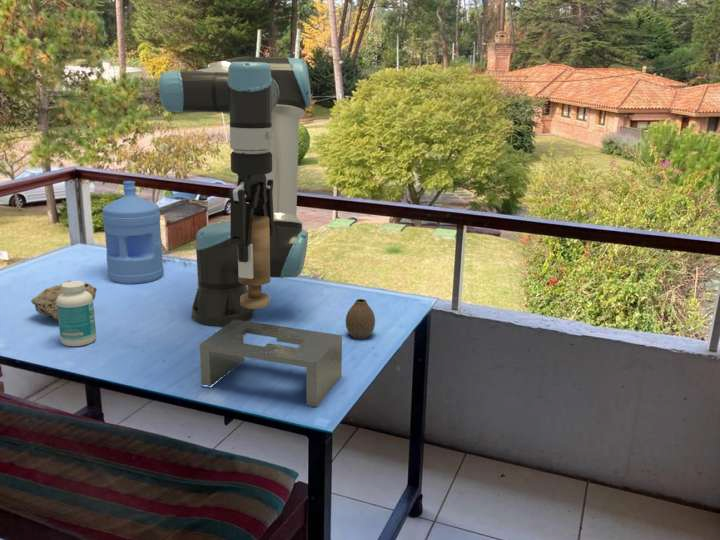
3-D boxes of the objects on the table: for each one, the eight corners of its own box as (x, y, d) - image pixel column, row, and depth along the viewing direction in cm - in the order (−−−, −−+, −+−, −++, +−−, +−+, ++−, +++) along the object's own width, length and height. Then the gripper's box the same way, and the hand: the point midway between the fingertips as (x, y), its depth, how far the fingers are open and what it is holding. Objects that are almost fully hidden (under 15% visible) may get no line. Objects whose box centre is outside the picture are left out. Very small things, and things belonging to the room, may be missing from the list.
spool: (233, 306, 127) (231, 219, 123) (248, 297, 133) (246, 213, 128) (262, 310, 126) (260, 222, 121) (275, 301, 131) (274, 216, 126)
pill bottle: (100, 343, 149) (95, 285, 145) (65, 350, 145) (58, 291, 141) (91, 332, 155) (86, 276, 151) (57, 339, 150) (51, 282, 146)
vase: (364, 343, 152) (365, 307, 150) (339, 336, 156) (340, 301, 153) (380, 334, 158) (381, 299, 155) (355, 327, 162) (356, 293, 159)
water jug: (123, 267, 204) (116, 176, 196) (172, 270, 202) (167, 178, 194) (97, 282, 189) (88, 184, 181) (150, 286, 187) (143, 187, 179)
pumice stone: (80, 303, 173) (77, 273, 171) (107, 313, 166) (105, 283, 164) (28, 318, 162) (24, 287, 160) (55, 329, 156) (52, 297, 153)
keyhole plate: (201, 386, 130) (199, 344, 127) (235, 358, 143) (234, 319, 140) (316, 407, 123) (316, 363, 121) (341, 376, 136) (342, 335, 133)
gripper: (246, 158, 111) (249, 289, 118) (291, 146, 128) (291, 262, 135) (206, 155, 113) (211, 284, 120) (255, 144, 131) (258, 258, 137)
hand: (254, 272), depth 127 cm, fingers closed on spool, 6 cm apart
